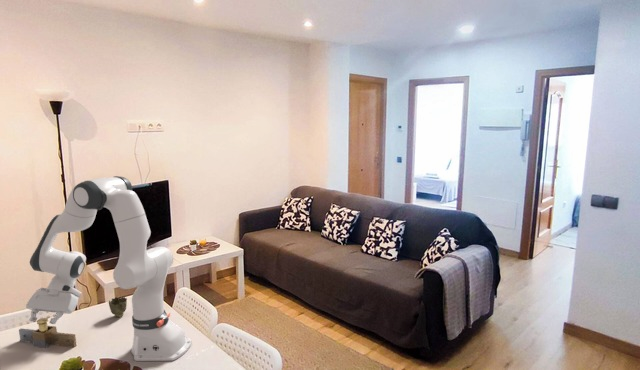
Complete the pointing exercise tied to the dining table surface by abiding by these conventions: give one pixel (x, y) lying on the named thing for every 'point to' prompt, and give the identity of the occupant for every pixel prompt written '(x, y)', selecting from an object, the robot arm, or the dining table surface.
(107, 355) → the dining table surface
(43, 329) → the hinge pin
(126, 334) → the dining table surface
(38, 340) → the hinge
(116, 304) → the cup
